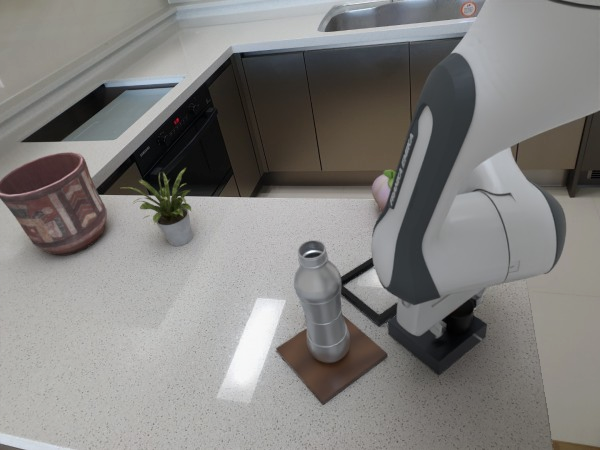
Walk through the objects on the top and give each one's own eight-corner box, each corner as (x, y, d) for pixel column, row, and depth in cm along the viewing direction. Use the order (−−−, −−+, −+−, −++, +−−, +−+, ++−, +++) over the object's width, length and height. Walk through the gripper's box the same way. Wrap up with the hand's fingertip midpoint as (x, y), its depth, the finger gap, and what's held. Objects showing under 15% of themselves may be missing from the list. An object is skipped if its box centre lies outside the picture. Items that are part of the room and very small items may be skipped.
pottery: (99, 259, 99) (60, 189, 88) (24, 268, 101) (-23, 200, 90) (126, 212, 113) (95, 146, 102) (59, 220, 115) (22, 157, 104)
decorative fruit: (423, 220, 92) (423, 177, 86) (385, 230, 91) (382, 188, 85) (404, 196, 100) (403, 156, 94) (368, 206, 99) (365, 165, 93)
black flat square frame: (432, 288, 77) (432, 283, 76) (379, 326, 72) (378, 321, 72) (382, 255, 86) (382, 250, 85) (332, 287, 81) (331, 282, 80)
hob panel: (499, 337, 67) (501, 323, 65) (446, 382, 63) (446, 368, 61) (438, 297, 75) (439, 283, 73) (388, 333, 71) (387, 320, 69)
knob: (454, 306, 69) (455, 288, 67) (479, 323, 66) (481, 305, 64) (434, 322, 68) (434, 304, 65) (458, 339, 64) (459, 321, 62)
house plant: (138, 269, 94) (106, 203, 84) (146, 230, 105) (118, 168, 95) (207, 254, 94) (183, 187, 85) (207, 216, 106) (186, 153, 96)
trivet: (387, 356, 68) (387, 353, 67) (323, 405, 63) (322, 401, 63) (336, 311, 76) (336, 308, 76) (276, 351, 72) (275, 348, 71)
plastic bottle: (352, 332, 71) (338, 230, 60) (351, 369, 66) (336, 266, 54) (311, 333, 72) (289, 234, 61) (307, 370, 67) (283, 269, 55)
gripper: (421, 297, 52) (421, 372, 60) (533, 218, 60) (519, 293, 68) (382, 270, 56) (387, 343, 64) (491, 200, 64) (483, 272, 72)
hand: (456, 317), depth 66 cm, fingers open, 6 cm apart
